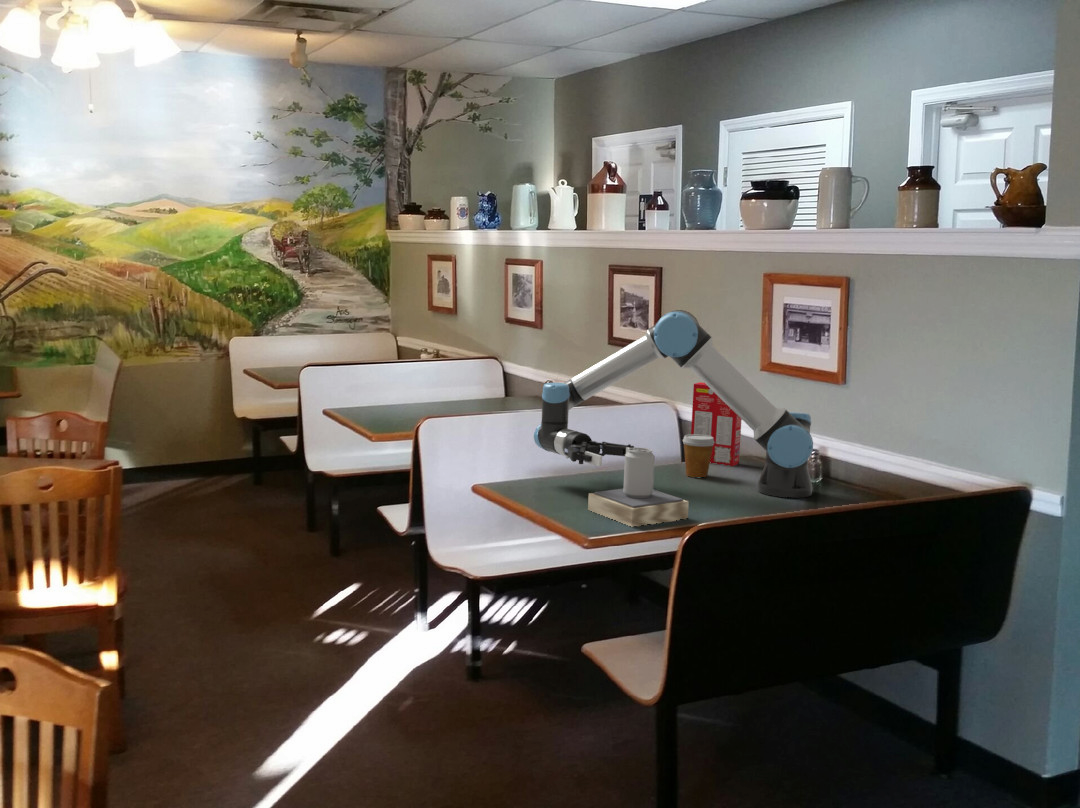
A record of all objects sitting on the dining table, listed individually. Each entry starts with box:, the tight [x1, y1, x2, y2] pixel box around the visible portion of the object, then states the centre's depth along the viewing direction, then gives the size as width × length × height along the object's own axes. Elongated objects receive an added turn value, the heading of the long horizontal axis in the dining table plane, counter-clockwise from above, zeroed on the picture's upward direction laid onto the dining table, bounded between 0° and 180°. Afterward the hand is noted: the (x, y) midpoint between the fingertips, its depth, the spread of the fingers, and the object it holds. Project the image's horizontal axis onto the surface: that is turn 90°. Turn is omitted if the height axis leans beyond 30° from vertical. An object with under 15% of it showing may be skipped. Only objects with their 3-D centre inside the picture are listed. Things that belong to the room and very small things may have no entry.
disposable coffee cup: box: [682, 433, 715, 478], centre depth 314 cm, size 10×10×12 cm
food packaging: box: [690, 381, 742, 467], centre depth 336 cm, size 15×5×25 cm, turn 61°
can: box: [622, 447, 656, 498], centre depth 265 cm, size 8×8×12 cm
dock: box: [587, 488, 690, 528], centre depth 266 cm, size 18×18×5 cm
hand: (622, 459), depth 270 cm, fingers open, 13 cm apart
